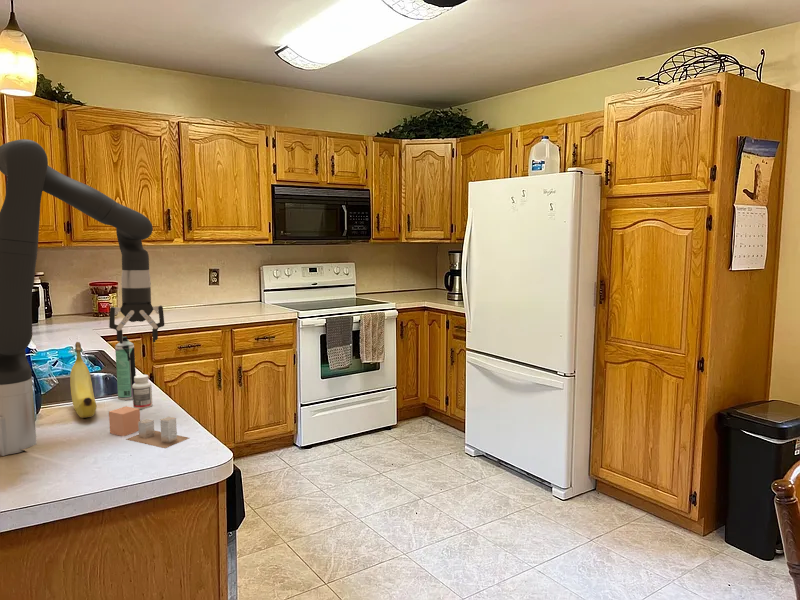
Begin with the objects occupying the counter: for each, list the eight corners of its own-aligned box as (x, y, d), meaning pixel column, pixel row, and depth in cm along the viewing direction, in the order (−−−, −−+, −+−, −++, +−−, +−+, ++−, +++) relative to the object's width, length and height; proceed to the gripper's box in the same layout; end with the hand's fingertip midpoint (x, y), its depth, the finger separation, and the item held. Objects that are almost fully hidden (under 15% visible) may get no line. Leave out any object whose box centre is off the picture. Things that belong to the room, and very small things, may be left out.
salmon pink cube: (123, 439, 150) (122, 414, 150) (110, 435, 153) (108, 411, 152) (140, 432, 155) (139, 408, 154) (127, 430, 157) (125, 406, 157)
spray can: (140, 397, 189) (137, 336, 187) (124, 401, 184) (121, 338, 182) (130, 394, 192) (127, 334, 189) (114, 398, 187) (111, 337, 185)
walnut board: (165, 451, 142) (165, 448, 142) (125, 442, 148) (125, 439, 148) (190, 440, 149) (190, 437, 149) (151, 432, 155) (151, 429, 155)
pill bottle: (136, 404, 180) (135, 374, 179) (154, 404, 181) (153, 373, 180) (130, 410, 175) (128, 378, 174) (149, 409, 175) (147, 378, 174)
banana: (101, 422, 164) (96, 352, 161) (77, 426, 161) (72, 354, 158) (91, 402, 182) (87, 340, 180) (70, 405, 179) (66, 342, 177)
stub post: (146, 438, 149) (145, 423, 148) (139, 436, 150) (138, 421, 149) (154, 435, 151) (153, 420, 150) (147, 433, 152) (146, 419, 152)
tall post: (168, 443, 145) (167, 420, 144) (161, 441, 146) (160, 419, 146) (177, 440, 147) (176, 417, 147) (169, 438, 149) (168, 416, 148)
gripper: (107, 287, 159) (109, 346, 160) (163, 286, 164) (165, 343, 166) (109, 285, 165) (110, 341, 167) (163, 284, 171) (164, 339, 173)
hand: (137, 342), depth 166 cm, fingers open, 8 cm apart
